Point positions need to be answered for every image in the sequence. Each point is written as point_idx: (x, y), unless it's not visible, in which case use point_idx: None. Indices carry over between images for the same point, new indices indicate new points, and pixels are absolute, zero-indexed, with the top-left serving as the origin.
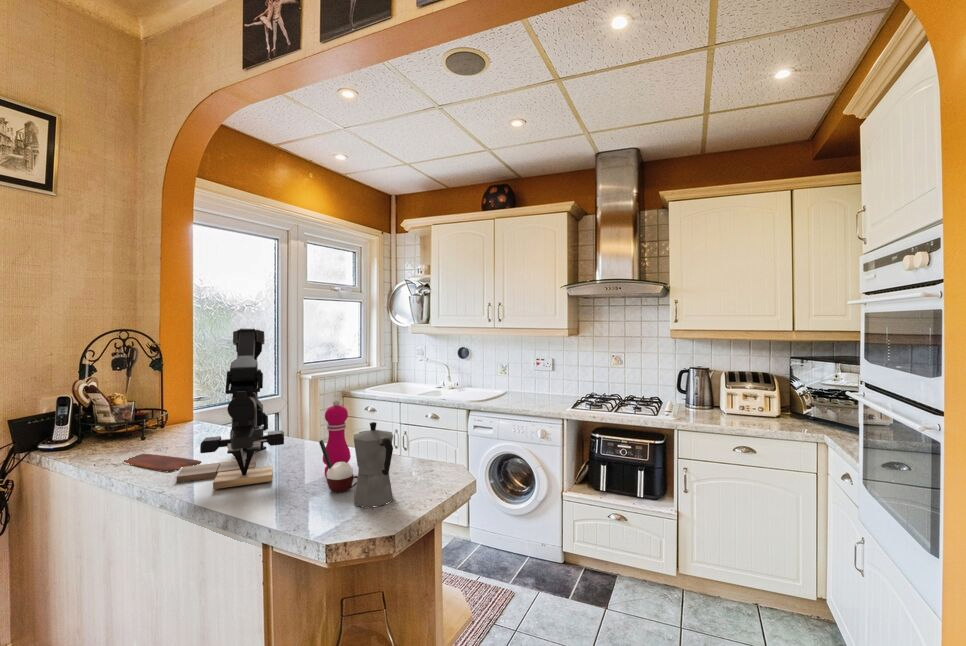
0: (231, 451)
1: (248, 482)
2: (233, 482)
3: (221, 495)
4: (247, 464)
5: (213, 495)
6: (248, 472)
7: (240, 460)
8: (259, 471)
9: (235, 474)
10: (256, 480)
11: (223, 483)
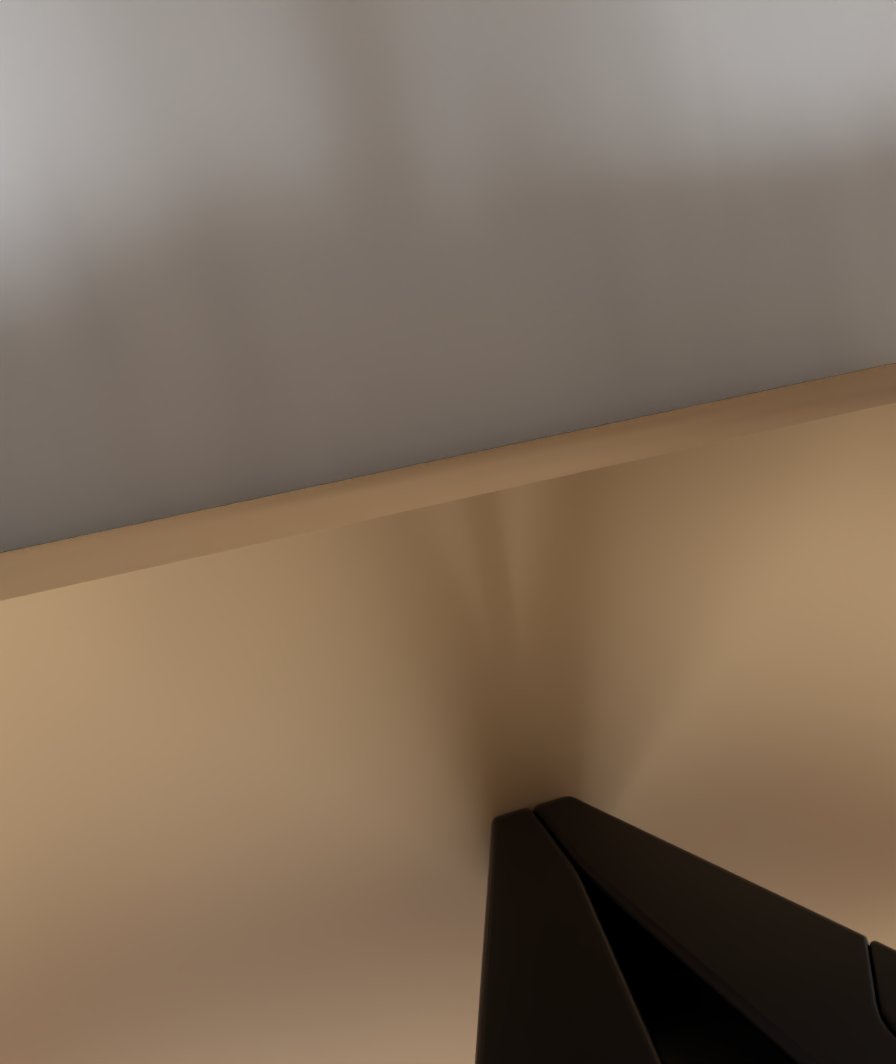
0: None
1: (338, 489)
2: (670, 435)
3: (750, 79)
4: (540, 991)
5: (888, 137)
6: None
7: (892, 1049)
8: (228, 1061)
9: None
10: (150, 540)
11: (865, 394)
